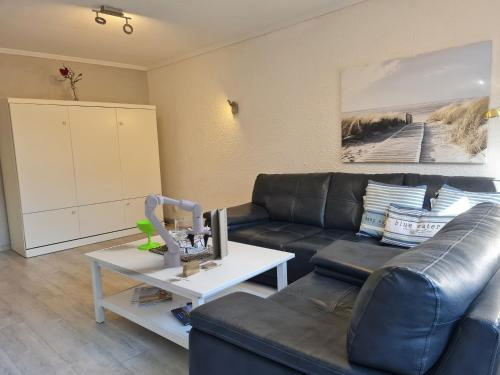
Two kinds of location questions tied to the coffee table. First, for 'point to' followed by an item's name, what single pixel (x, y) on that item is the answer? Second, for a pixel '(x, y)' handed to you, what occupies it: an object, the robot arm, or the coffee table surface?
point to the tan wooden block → (191, 268)
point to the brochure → (219, 233)
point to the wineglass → (148, 228)
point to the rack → (205, 264)
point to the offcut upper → (209, 265)
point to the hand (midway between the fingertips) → (199, 246)
